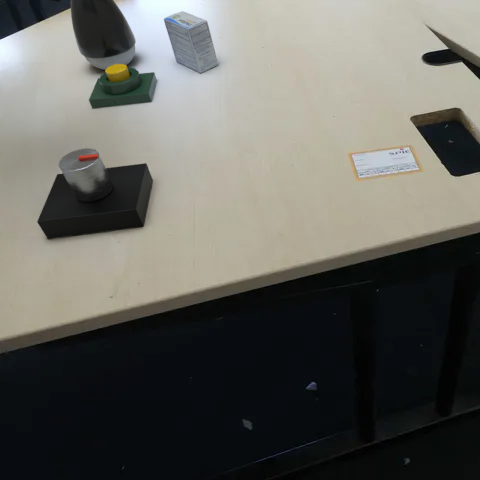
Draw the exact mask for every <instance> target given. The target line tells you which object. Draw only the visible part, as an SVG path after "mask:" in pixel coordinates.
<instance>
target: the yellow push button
mask: <svg viewBox="0 0 480 480" xmlns="http://www.w3.org/2000/svg"><path fill="white" fill-rule="evenodd" d="M127 67H128V66H127V65H125V64H115V65H112V66H109V67H108V68H106V70H104V73H106V74H107V77H108V79H109V81H110V82H119V81H123V80H126V79H128V78H129V77H130V73H129V71H128V68H127Z"/></svg>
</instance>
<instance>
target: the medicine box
mask: <svg viewBox="0 0 480 480" xmlns="http://www.w3.org/2000/svg"><path fill="white" fill-rule="evenodd" d="M163 22H164V25H165V29H166V32H167V36H168V39H169V42H170V45H171V49H172V52H173V55H174V58H175V61H176V63H178V64H180V65H182V66H184V67H187V68H188V69H191V70H193V71H195V72H197V73H199V74H202V73H205V72H207V71H209V70H211V69H213V68H214V67H217V66H218V65H219V60H218V57H217V55H216V54H217V53H216V50H215V46H214V41H213V38H212V34H211V30H210V25H209V23H208V20H206V19H204V18H202V17H199V16H196V15H194V14H191V13H189V12H186V11H184V10H182V11H179V12H175V13H172V14H171V15H168V16H166V17H164V18H163Z"/></svg>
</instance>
